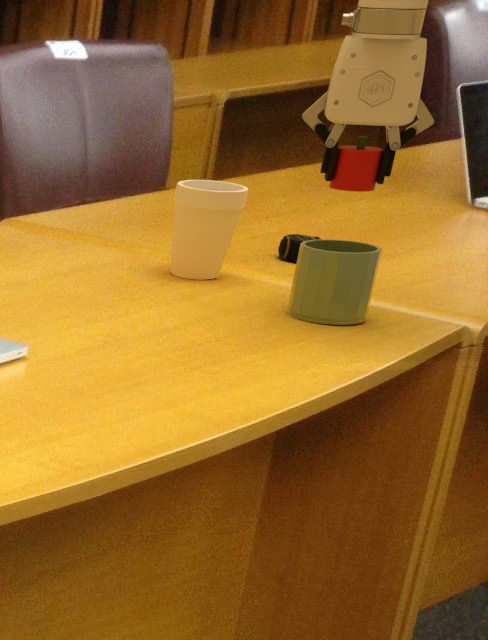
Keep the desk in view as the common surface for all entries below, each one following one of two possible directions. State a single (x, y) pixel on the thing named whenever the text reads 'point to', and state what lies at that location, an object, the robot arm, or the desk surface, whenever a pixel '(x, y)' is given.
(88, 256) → the desk surface
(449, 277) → the desk surface
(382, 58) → the robot arm
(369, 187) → the pepper
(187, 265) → the foam cup
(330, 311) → the ceramic cup
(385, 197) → the desk surface
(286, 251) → the tape measure
